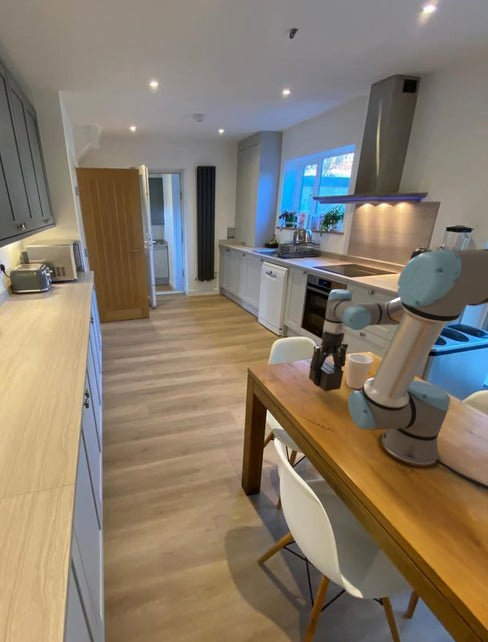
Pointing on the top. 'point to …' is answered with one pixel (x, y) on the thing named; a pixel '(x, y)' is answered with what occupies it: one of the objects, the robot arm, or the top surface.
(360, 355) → the foam cup
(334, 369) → the dark slotted box
